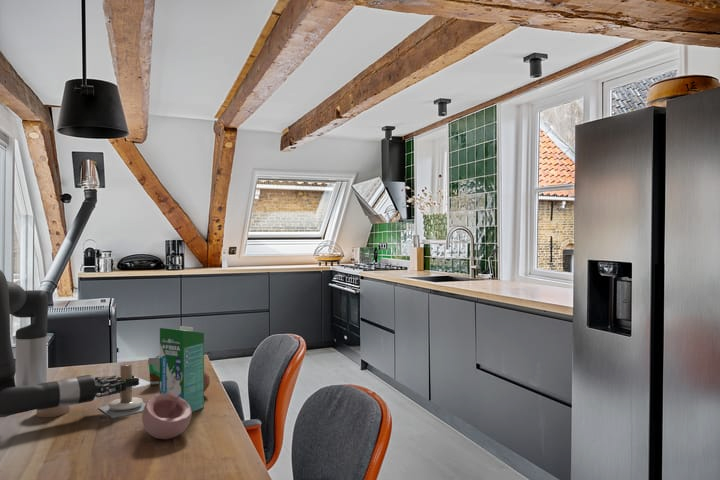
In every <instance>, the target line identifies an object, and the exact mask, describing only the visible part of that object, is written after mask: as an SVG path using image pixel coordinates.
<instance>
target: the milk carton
mask: <svg viewBox="0 0 720 480" xmlns="http://www.w3.org/2000/svg"><path fill="white" fill-rule="evenodd" d="M204 333H205V332H201V331H200V332H199V331H194V327H192V326H183V325H180V326H179V329H176V328H168V327H159V356H160V386H159V394H172V395H176V396H179V397H181V398H182V399H184V400H185V401H186V402H187V403H188V404H189V405H190V407H191V410H192V413H193V412H196V411H198V410H200V409H203V408H205V391H204V371H205V334H204Z"/></svg>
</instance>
